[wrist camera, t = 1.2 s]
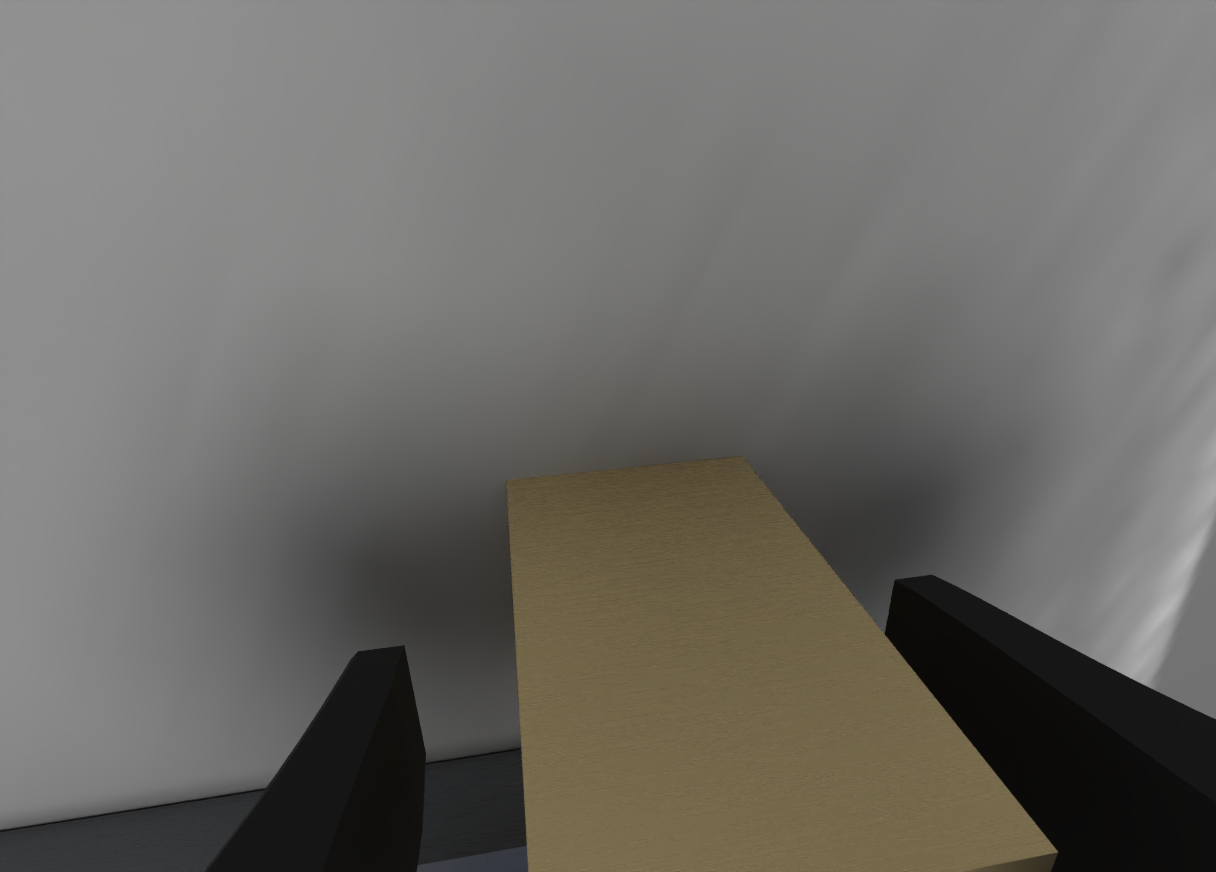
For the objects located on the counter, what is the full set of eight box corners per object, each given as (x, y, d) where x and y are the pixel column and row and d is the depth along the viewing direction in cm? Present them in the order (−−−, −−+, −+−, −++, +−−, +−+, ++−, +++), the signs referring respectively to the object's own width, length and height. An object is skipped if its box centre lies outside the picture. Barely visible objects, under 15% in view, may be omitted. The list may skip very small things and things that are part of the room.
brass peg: (731, 640, 13) (958, 1108, 7) (525, 668, 12) (566, 1209, 6) (742, 455, 11) (1057, 852, 5) (506, 480, 11) (533, 957, 5)
